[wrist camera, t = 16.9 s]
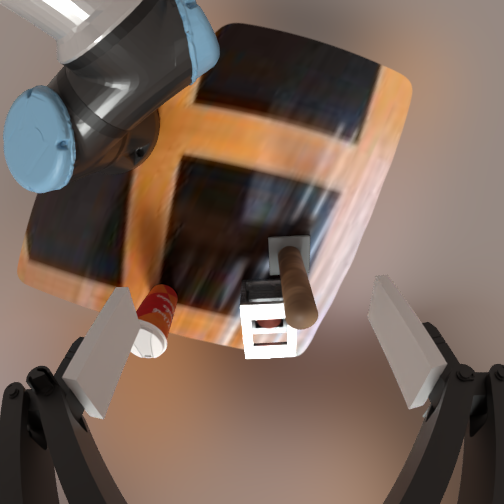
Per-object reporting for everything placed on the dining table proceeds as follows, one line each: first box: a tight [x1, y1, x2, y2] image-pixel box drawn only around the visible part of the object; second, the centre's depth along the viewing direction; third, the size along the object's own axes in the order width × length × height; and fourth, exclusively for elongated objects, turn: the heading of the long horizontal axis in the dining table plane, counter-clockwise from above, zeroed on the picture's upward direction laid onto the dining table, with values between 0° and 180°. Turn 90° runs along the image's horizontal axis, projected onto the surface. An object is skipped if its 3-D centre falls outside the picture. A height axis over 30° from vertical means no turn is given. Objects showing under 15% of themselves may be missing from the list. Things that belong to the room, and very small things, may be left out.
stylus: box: [278, 246, 318, 329], centre depth 42 cm, size 4×4×17 cm
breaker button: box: [257, 319, 281, 328], centre depth 53 cm, size 4×4×3 cm
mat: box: [268, 235, 310, 275], centre depth 50 cm, size 7×7×1 cm
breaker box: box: [240, 278, 297, 359], centre depth 51 cm, size 12×9×8 cm
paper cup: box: [131, 284, 178, 358], centre depth 48 cm, size 8×8×14 cm
